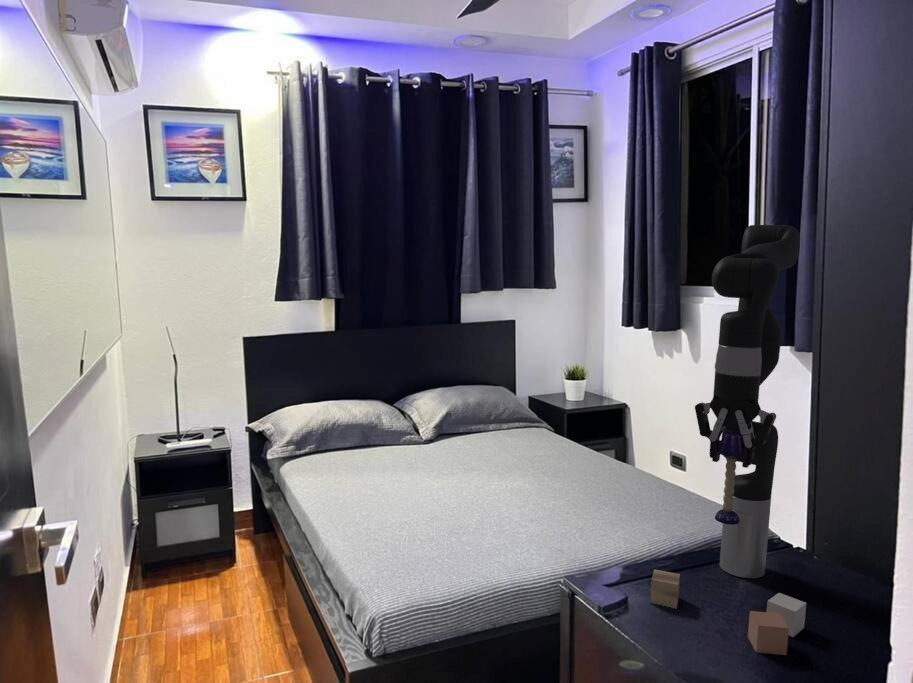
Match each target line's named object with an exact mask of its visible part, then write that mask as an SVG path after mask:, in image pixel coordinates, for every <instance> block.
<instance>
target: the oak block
mask: <svg viewBox="0 0 913 683" xmlns="http://www.w3.org/2000/svg"><path fill="white" fill-rule="evenodd" d="M680 580H681V574H680V573H676V572H671V571H666V570H665V571H664V570H659V569H653V573H652V576H651V581H650V582H651V584H650V599H649V600H650V601H649V603H650V602H651V603H654V604H653V605H655V604H659V605H662V606H661V607H664V606H667V607H666V608H669V607H671V608H670V609H674V608H675V610H677V609H678V604H679V594H680ZM659 605H658V606H659Z"/></svg>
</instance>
